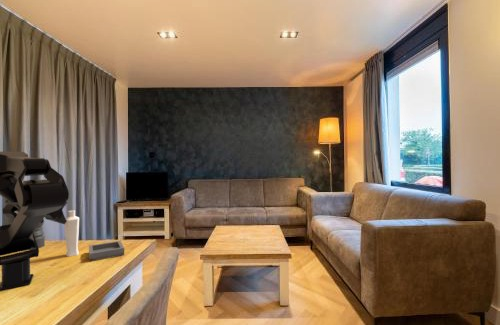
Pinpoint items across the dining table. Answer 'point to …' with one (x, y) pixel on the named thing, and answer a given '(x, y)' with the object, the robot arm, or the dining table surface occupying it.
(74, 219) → the perfume bottle
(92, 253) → the gray tray
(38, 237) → the candle holder
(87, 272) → the dining table surface
